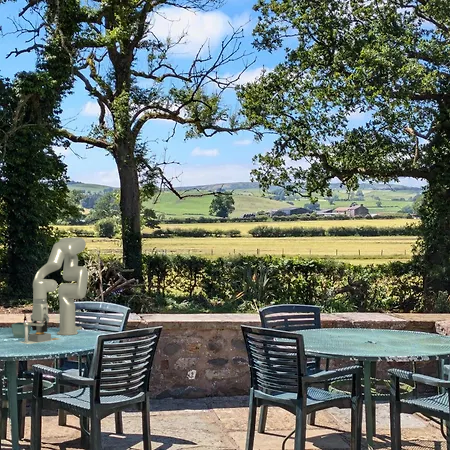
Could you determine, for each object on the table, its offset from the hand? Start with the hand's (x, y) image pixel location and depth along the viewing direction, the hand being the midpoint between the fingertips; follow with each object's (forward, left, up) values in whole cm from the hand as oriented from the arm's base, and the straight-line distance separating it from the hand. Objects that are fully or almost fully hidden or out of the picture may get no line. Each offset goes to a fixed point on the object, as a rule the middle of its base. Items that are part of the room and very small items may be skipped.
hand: (39, 331), depth 406 cm
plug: (0, 0, -6) cm, 6 cm away
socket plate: (+2, 0, -6) cm, 7 cm away
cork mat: (-10, +1, -6) cm, 12 cm away
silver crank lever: (+7, +5, +4) cm, 10 cm away
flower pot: (0, -19, -6) cm, 20 cm away
